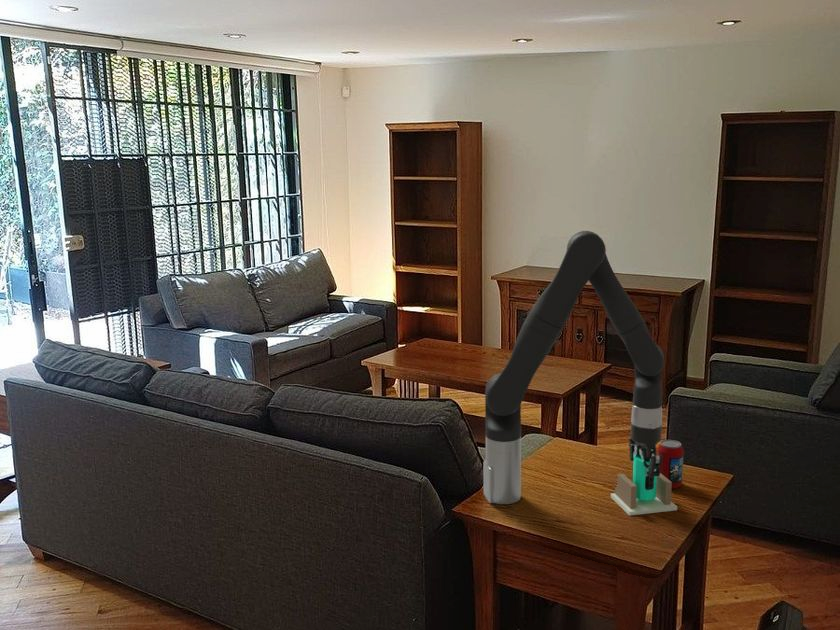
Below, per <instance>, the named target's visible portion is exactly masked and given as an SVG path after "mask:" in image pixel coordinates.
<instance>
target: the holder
mask: <svg viewBox="0 0 840 630" xmlns="http://www.w3.org/2000/svg"><path fill="white" fill-rule="evenodd" d="M616 478H617V482H616V483H617V484H616V486H615V490H614V492H613V493H610V498H611V499H612V500H613V501H614V502H615V503H616V504H617V505H618V506H619V507H620V508H621V509H622V510H623V511H624V512H625V513H626V514H627V515H628V516H637V515H646V514H655V513H662V512H672V511H673V512H674V511H678V506H677V505H676V504H675V503H674V502H673V501H672V482H671V481H670V480H668V479H667V478H666V477H665V476H663V475H662V474H661V473H660V476H657V486H656V498H655V499H653V500H640V499H637V498H636V497H637V486H636V485H635V484H634V483H633V480H631V479H629V478H628V477H627V476H626V475H625V474H624V473H617V477H616Z"/></svg>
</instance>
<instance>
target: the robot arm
mask: <svg viewBox="0 0 840 630" xmlns="http://www.w3.org/2000/svg"><path fill="white" fill-rule="evenodd" d="M606 248H607V247H606V244H605V242H604V240H603V239H602V237H600V235H598V234H597V233H595V232H593V231H589V230H581V231H579V232H576V233H575V234H573V235H572V236H571V237H570V238H569V240H568V242H567V244H566V252H565V254H564V257H563V258H562V261H561V264H560V266H559V268H558V269H557V272H556V274H555V276H554V278H553V279H552V280H551V282H550V283H549V284H548V286H547V287H546V288H545V289H544V291H543V292H542V293H541V295H540V296H538V299H537V300H536V301H535V303H534V305H533V306H532V307H531V309H530V311H529V313H528V314H527V316H526V318H525V320H524V322H523V323H522V326H521V328H520V330H519V333H518V335H517V338H516V339H515V342H514V343H515V344H514V347H513V349H512V352H511V355H510V357H509V359H508V362H507V363H506V365H505V367H504V368H503V369H502V371H501V372H500V373H497V374H494V375H493V376H491V377H490V379H489V380H488V381H487V382H486V385H485V389H484V391H485V394H484V398H485V399H484V400H485V403H484V405H485V413H484V414H485V419H484V421H485V460H483V464H482V465H483V468H482V469H483V471H482V473H483V475H482V476H483V496H484V498H485V499H486V500H487V502H488V503H489V504H498V505H510V504H511V505H512V504H515V503H517V502H519V501H520V500H521V496H522V495H521V494H522V478H521V477H522V471H521V469H522V419H521V418H522V413H521V412H522V411H521V410H522V402H523V401H524V398H525V395H526V393H527V390H528V388H529V386H530V385H531V381H532V379H533V378H534V376H535V374H536V372H537V371H538V369H539V368H540V366H541V364H542V363H543V362H544V360H545V359H546V357H547V356H548V354H549V352H550V351H551V350H552V348H553V346H554V345H555V343H556V341H557V340H558V338H559V337H560V335H561V332H563V330H564V328H565V326H566V323H567V321H568V320H569V318H570V315H571V314H572V312H573V309H574V307H575V305H576V303H577V301H578V298H579V296H580V294H581V292H582V291H583V289H584V288H585V286H586V284H587V283H588V282H589V283H590V285H591V286H592V287H593V289H594V291H595V293H596V295H597V297H598V299H599V301H600V303H601V305H602V307H603V310H604V311H605V313H606V315H607V317H608V319H609V320H610V322H611V324H612V326H613V328H614V329H615V331H616V333H617V334H618V336H619V338H620V339H621V340H622V342H623V343H624V345H625V348H626V350H627V353H628V355H629V357H630V359H631V360H632V363H633V365H634V385H633V386H634V387H633V391H632V392H633V396H632V408H631V418H630V419H631V420H630V438H629V439H628V443H629V444H628V447H629V448H628V449H629V461H630V462H633V461H634V455H636V457H637V456H638V457H639V458H641V461H643V466H644V467H645V475H646V477H645V489H646V490H652V489H653V488H654V476H660V470H661V464H662V459H663V458H662V455H657V444H658V443H661V441H662V431H663V429H662V427H663V405H662V404H663V386H662V385H663V383H662V377H663V369H664V366H665V362H666V361H665V355H664V352H663V349H662V348H661V347H660V345H658V344H657V343H656V342H655V341H654V340H653V338H652V336H651V334H650V333H649V332H650V331H649V329H648V326H647V324H646V322H645V320H644V318H643V317H642V315H641V313H640V311H639V310H638V308H637V306H636V305H635V303H634V302H633V300H632V299H631V297H630V296H629V294H628V293H627V291H626V290H625V289H624V287H623V286H622V284H621V282H620V281H619V279H618V277H617V276H616V274H615V272H614V270H613V268H612V267H611V264H610V261H609V259H608V256H607V254H606V252H607V249H606ZM649 461H651V462H650V465H647V463H646V462H649ZM648 467H649V471H648Z"/></svg>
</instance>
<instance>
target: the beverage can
mask: <svg viewBox="0 0 840 630" xmlns="http://www.w3.org/2000/svg"><path fill="white" fill-rule="evenodd" d="M656 453H657V455H662V458H663V459H662V464H661V470H660V473H661V474H662V475H663V476H665V477H666V478H667V479H668V480H670V481H671V482H672V489H677V488H678V487H681V486H683V485H682V484H683V475H684V474H683V473H684V469H683V468H684V453H685V449H684V448H683V446H682V443H681V442H680V441H678V440H674V439H663V440H661V441H660V442H659V445H658V447H657V451H656ZM672 489H671V490H672Z"/></svg>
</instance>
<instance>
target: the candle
mask: <svg viewBox="0 0 840 630" xmlns="http://www.w3.org/2000/svg"><path fill="white" fill-rule="evenodd" d="M650 462H651V461H649V462H646V463H647V465H650ZM632 464H633V465H632V466H633V467H632V469H633V470H632V482H633V483H634V484H635V485H636V486H637V497H636V498H637V499H640V500H653V499H655V498H656V486H657V476H654V488H653V489H652V490H646V489H645V477H646V475H645V467H644V466H643V461H641V458H639V457H638V456H637V457H636V455H634V461H632ZM648 471H649V467H648Z"/></svg>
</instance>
